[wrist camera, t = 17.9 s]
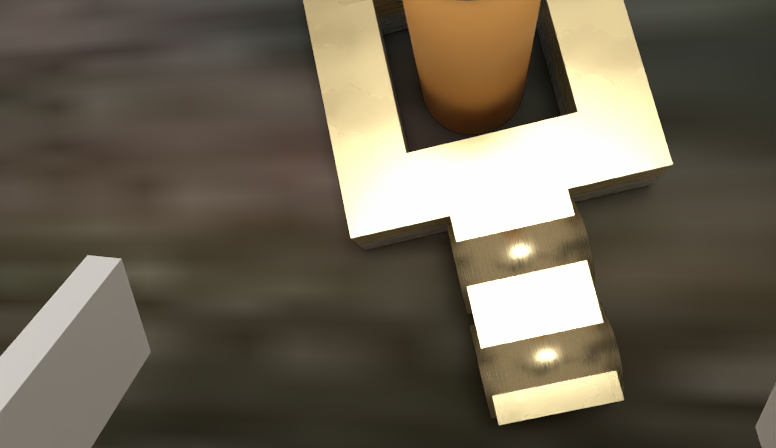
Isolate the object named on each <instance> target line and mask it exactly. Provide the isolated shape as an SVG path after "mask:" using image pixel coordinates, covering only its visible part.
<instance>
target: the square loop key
mask: <svg viewBox="0 0 776 448" xmlns="http://www.w3.org/2000/svg"><path fill="white" fill-rule="evenodd" d="M303 2H304V7H305V12H306V17H307V22H308V27H309V32H310V37H311V42H312V47H313V52H314V57H315V62H316V67H317V72H318V77H319V82H320V87H321V92H322V97H323V102H324V107H325V112H326V117H327V122H328V127H329V132H330V137H331V142H332V147H333V152H334V157H335V162H336V167H337V172H338V177H339V182H340V187H341V192H342V197H343V202H344V207H345V212H346V217H347V222H348V227H349V232H350V237H351V239H352V240H353V241H354V242H356V243H357V244H358V245H359V246H360V247H362V248H363V249H364V250H367V249H372V248H376V247H381V246H385V245H389V244H394V243H398V242H403V241H407V240H411V239H416V238H420V237H425V236H429V235H433V234H438V233H442V232H447V231H448V234H449V238H450V243H451V247H452V252H453V256H454V260H455V265H456V269H457V273H458V278H459V282H460V286H461V291H462V295H463V299H464V304H465V308H466V312H467V314H471V313H473V317H474V322H475V325H470V330H471V334H472V338H473V343H474V347H475V352H476V356H477V361H478V365H479V369H480V374H481V378H482V382H483V387H484V391H485V395H486V400H487V404H488V408H489V412H490V417H491V419H493V418H497V420H498V424H499V425H503V424H508V423H513V422H518V421H523V420H528V419H533V418H538V417H543V416H548V415H553V414H558V413H563V412H567V411H572V410H577V409H582V408H587V407H592V406H597V405H602V404H607V403H612V402H617V401H622V400H624V398H623V394H622V392H623V389H624V377H623V369H622V363H621V358H620V354H619V350H618V346H617V342H616V339H615V336H614V332H613V329H612V326H611V324H610V321H609V319H608V316H607V314H606V312H605V309H604V308H603V306H602V304H601V303H600V301H599V300H598V299H597V297H596V293H595V290H594V280H595V274H594V264H593V258H592V252H591V247H590V243H589V239H588V235H587V232H586V228H585V225H584V222H583V219H582V216H581V214H580V211H579V209H578V207H577V205H576V203H575V202H578V201H583V200H587V199H592V198H596V197H600V196H605V195H609V194H614V193H618V192H622V191H627V190H631V189H636V188H640V187H644V186H649V185H651V184H652V183H653V182H654V181H655V180H656V179H658V178H659V177H660V176H661V175H662V174H663V173H664V172H665V171H666V170H667V169H668V168H670V167H671V166H672V165H673V163H672V160H671V157H670V153H669V150H668V147H667V143H666V140H665V137H664V134H663V130H662V127H661V124H660V120H659V117H658V114H657V110H656V107H655V104H654V100H653V97H652V94H651V90H650V87H649V84H648V81H647V77H646V74H645V71H644V67H643V64H642V61H641V57H640V54H639V51H638V47H637V44H636V41H635V38H634V34H633V31H632V28H631V24H630V21H629V18H628V14H627V11H626V8H625V4H624V1H623V0H541V2H540V7H539V13H538V18H537V23H536V28H537V31H538V35H539V39H540V42H541V46H542V50H543V53H544V57H545V61H546V64H547V68H548V72H549V75H550V79H551V83H552V87H553V90H554V94H555V98H556V101H557V105H558V109H559V112H560V117H556V118H552V119H547V120H543V121H539V122H535V123H531V124H527V125H522V126H518V127H514V128H510V129H506V130H501V131H497V132H493V133H489V134H485V135H481V136H476V137H472V138H468V139H464V140H460V141H455V142H451V143H447V144H443V145H439V146H435V147H430V148H426V149H422V150H418V151H414V152H409V149H408V145H407V140H406V136H405V131H404V127H403V122H402V118H401V113H400V109H399V104H398V100H397V96H396V91H395V87H394V82H393V78H392V73H391V69H390V64H389V60H388V55H387V51H386V46H385V42H384V37H383V35H386V34H390V33H394V32H397V31H401V30H405V29H409V28H408V24H407V19H406V15H405V10H404V5H403V1H402V0H303Z"/></svg>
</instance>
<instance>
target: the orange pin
mask: <svg viewBox="0 0 776 448" xmlns="http://www.w3.org/2000/svg"><path fill="white" fill-rule="evenodd" d="M402 1H403V5H404V10H405V15H406V19H407V24H408V28H409V33H410V38H411V42H412V47H413V52H414V56H415V61H416V66H417V70H418V75H419V80H420V84H421V89H422V93H423V98H424V101H425V104H426V107H427V109H428V111H429V112H430V114H431V115H432V116H433V117H434V119H435V120H436V121H437V122H439V123H440V124H441V125H442V126H444V127H445V128H447V129H449V130H451V131H454V132H457V133H462V134H470V135H473V134H482V133H486V132H490V131H492V130H495V129H497V128H498V127H500V126H502V125H503V124H505V123H506V122H507V121H508V120H509V119H510V118H511V117H512V116H513V115H514V113H515V112H516V111H517V109H518V107H519V105H520V103H521V100H522V97H523V93H524V88H525V82H526V77H527V72H528V66H529V61H530V56H531V50H532V45H533V40H534V34H535V29H536V23H537V18H538V13H539V7H540V2H541V0H402Z"/></svg>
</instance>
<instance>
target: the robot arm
mask: <svg viewBox="0 0 776 448" xmlns="http://www.w3.org/2000/svg"><path fill="white" fill-rule="evenodd" d="M150 352H151V351H150V348H149V345H148V342H147V338H146V335H145V332H144V329H143V326H142V323H141V319H140V316H139V313H138V310H137V307H136V303H135V300H134V297H133V294H132V291H131V288H130V284H129V281H128V278H127V275H126V272H125V269H124V265H123V262H122V259H119V258H109V257H99V256H89V255H88V256H87V257H86V258H85V259H84V260H83V261H82V263H81V264H80V265H79V266H78V267H77V268H76V269H75V271H74V272H73V273H72V274H71V275H70V276H69V278H68V279H67V280H66V281H65V282H64V283H63V285H62V286H61V287H60V288H59V289H58V290H57V292H56V293H55V294H54V295H53V296H52V297H51V299H50V300H49V301H48V302H47V303H46V304H45V305H44V307H43V308H42V309H41V310H40V311H39V312H38V314H37V315H36V316H35V317H34V318H33V319H32V321H31V322H30V323H29V324H28V325H27V326H26V328H25V329H24V330H23V331H22V332H21V333H20V335H19V336H18V337H17V338H16V339H15V340H14V341H13V343H12V344H11V345H10V346H9V347H8V348H7V350H6V351H5V352H4V353H3V354H2V355H1V357H0V448H91V447H92V445H93V444H94V442H95V441H96V439H97V437H98V436H99V434H100V433H101V431H102V429H103V428H104V426H105V425H106V423H107V421H108V420H109V418H110V417H111V415H112V413H113V412H114V410H115V409H116V407H117V405H118V404H119V402H120V400H121V399H122V397H123V396H124V394H125V392H126V391H127V389H128V388H129V386H130V384H131V383H132V381H133V380H134V378H135V376H136V375H137V373H138V372H139V370H140V368H141V367H142V365H143V364H144V362H145V360H146V359H147V357H148V356H149V354H150ZM755 428H756V431H757V434H758V437H759V440H760V444H761V447H762V448H776V383H775V385H774V387H773V390H772V392H771V394H770V396H769V398H768V400H767V403H766V405H765V407H764V409H763V411H762V413H761V416H760V418H759V420H758V422H757V424H756V427H755Z"/></svg>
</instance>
